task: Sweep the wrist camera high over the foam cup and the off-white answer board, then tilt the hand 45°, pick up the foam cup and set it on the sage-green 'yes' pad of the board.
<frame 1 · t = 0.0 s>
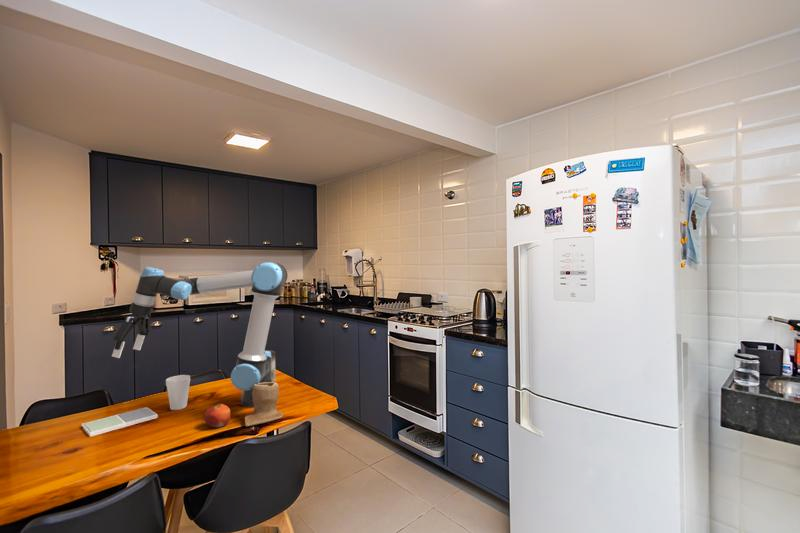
hand: (126, 353, 154), 27 cm above the table, tool tilted 20°, fingers open, 13 cm apart
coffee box: (265, 381, 202), on the table
answer board: (120, 422, 151), on the table
foam cup: (178, 407, 166), on the table
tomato: (217, 426, 146), on the table
stone cup: (262, 420, 151), on the table, touching arm
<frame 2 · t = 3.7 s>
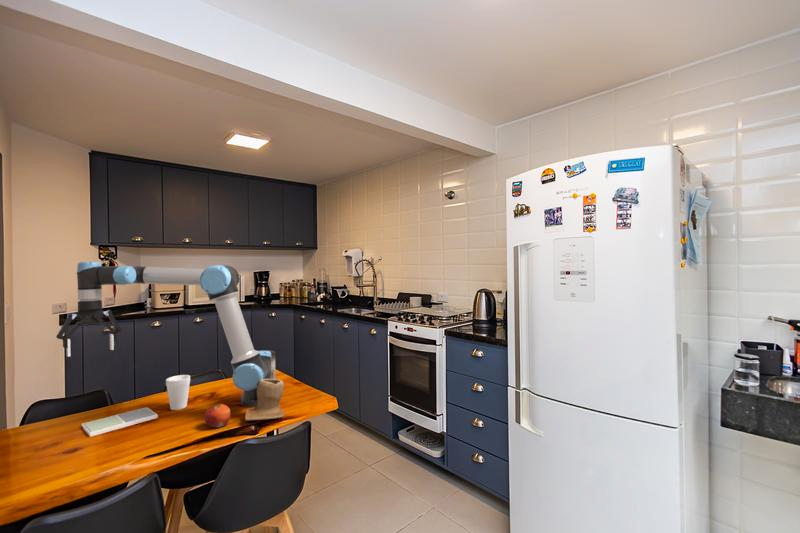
hand: (91, 352, 150), 28 cm above the table, tool pointing down, fingers open, 13 cm apart
stone cup: (264, 417, 152), on the table, touching arm
everything else where it was.
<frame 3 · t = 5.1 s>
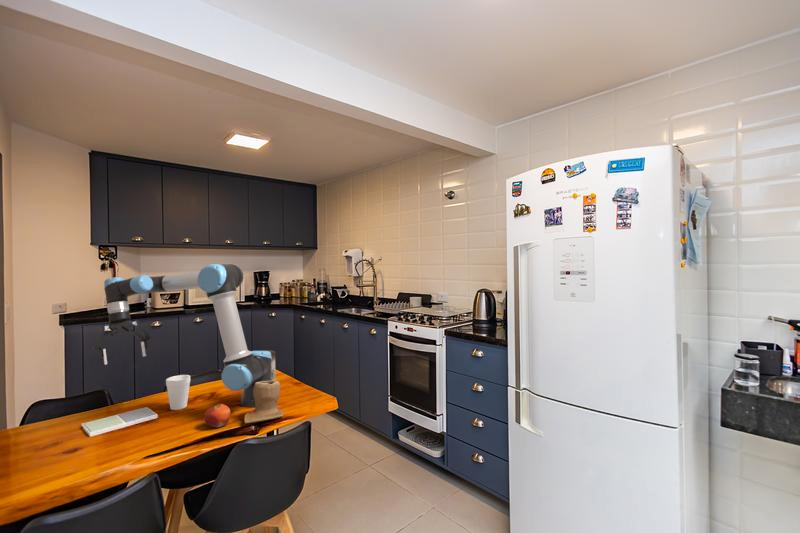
hand: (125, 360, 161), 22 cm above the table, tool pointing down, fingers open, 13 cm apart
stone cup: (263, 419, 152), on the table
everything else where it was.
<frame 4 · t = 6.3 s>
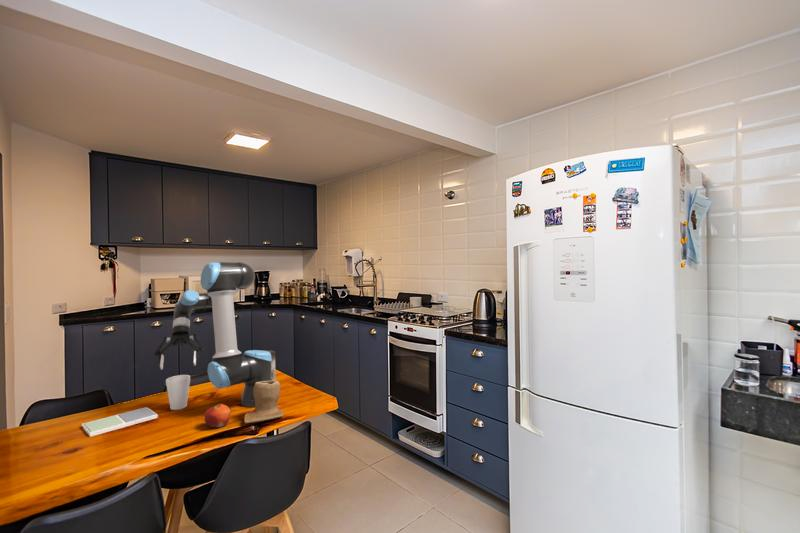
hand: (178, 366, 175), 16 cm above the table, tool tilted 40°, fingers open, 13 cm apart
nothing on the table moved.
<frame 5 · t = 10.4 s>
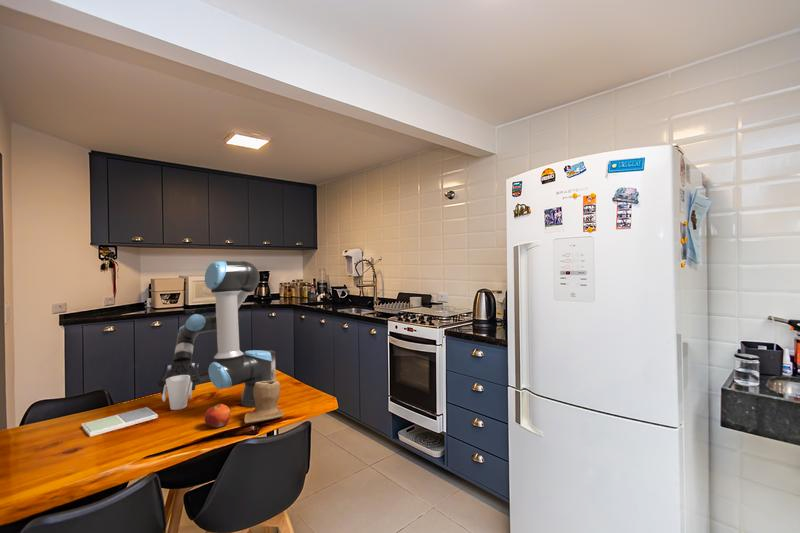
hand: (176, 398, 163), 5 cm above the table, tool tilted 45°, fingers closed on foam cup, 9 cm apart
foam cup: (178, 407, 166), on the table, touching gripper
everything else where it was.
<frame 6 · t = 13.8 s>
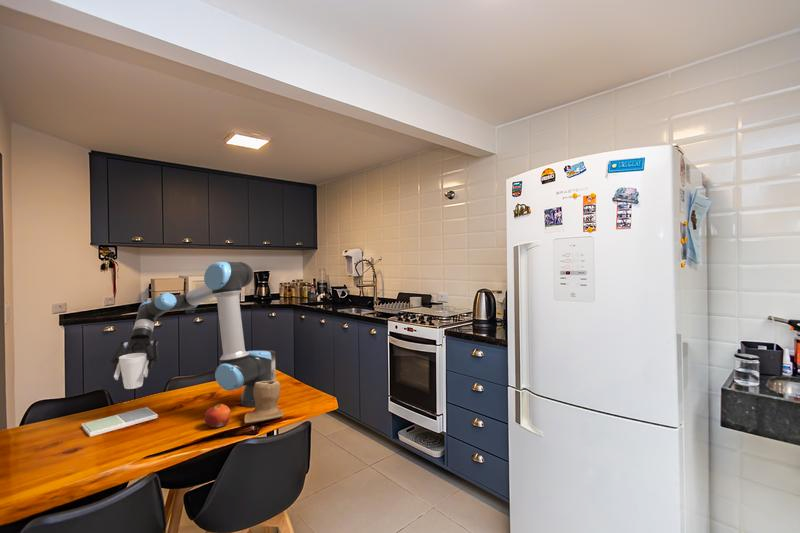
hand: (130, 377, 154), 17 cm above the table, tool tilted 45°, fingers closed on foam cup, 9 cm apart
foam cup: (133, 386, 157), point 12 cm above the table, touching gripper
everything else where it was.
when the fingers open (7 cm above the table, at t = 17.0 s): foam cup stays where it is, resting on answer board.
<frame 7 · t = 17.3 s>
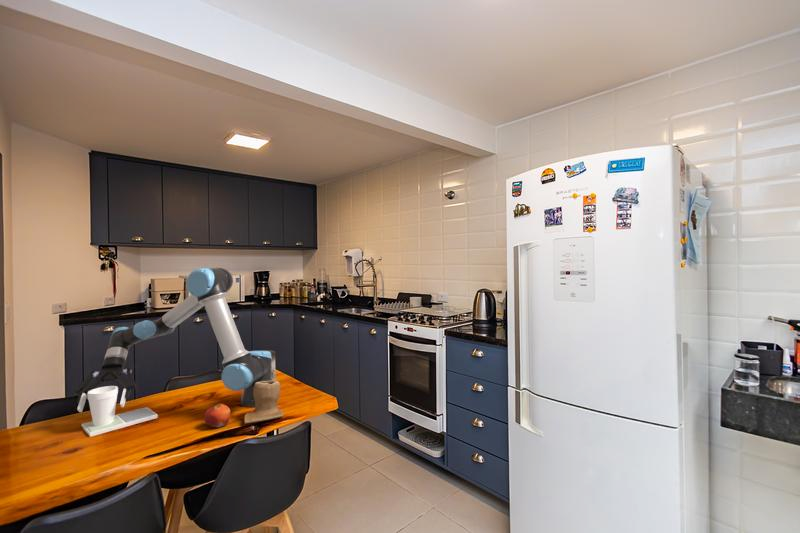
hand: (101, 408, 144), 8 cm above the table, tool tilted 45°, fingers open, 13 cm apart
foam cup: (103, 423, 146), point 1 cm above the table, touching answer board
everything else where it was.
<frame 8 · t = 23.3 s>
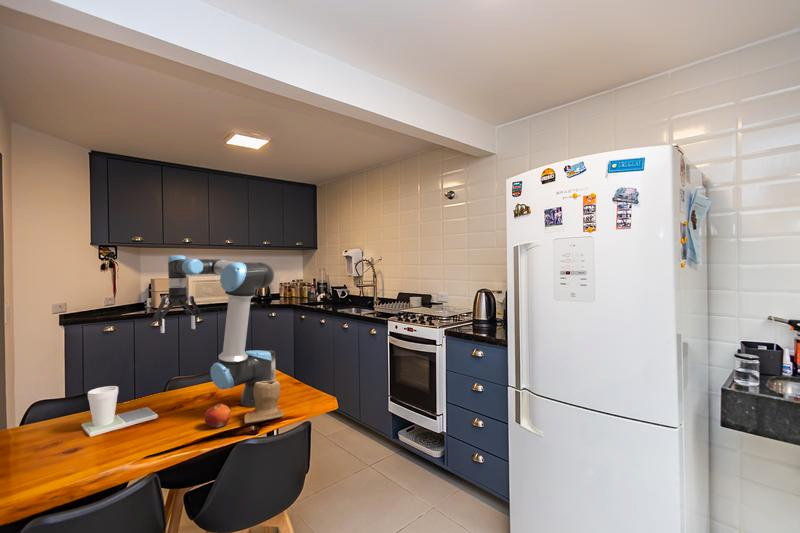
hand: (178, 330, 181), 32 cm above the table, tool pointing down, fingers open, 13 cm apart
nothing on the table moved.
at the end: foam cup inside the target area on the answer board (0.6 cm from its centre), point 1.3 cm above the answer board's base; foam cup tilted 0°; the gripper is holding nothing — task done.
